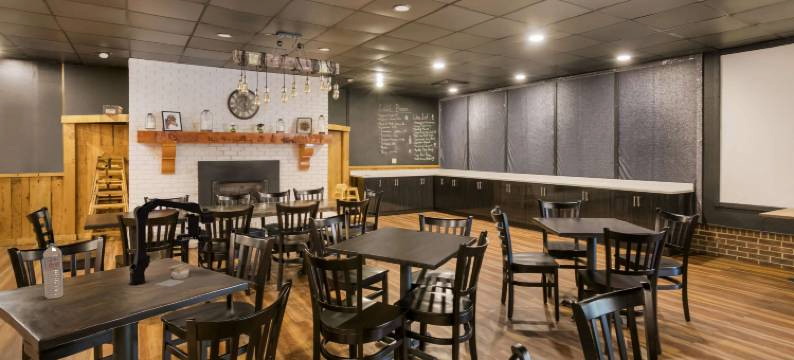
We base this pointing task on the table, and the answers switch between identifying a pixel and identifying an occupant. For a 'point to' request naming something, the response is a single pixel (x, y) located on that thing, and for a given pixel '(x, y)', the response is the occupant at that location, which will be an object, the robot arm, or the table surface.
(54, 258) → the water bottle
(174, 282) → the mat
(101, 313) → the table surface
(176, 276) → the bowl
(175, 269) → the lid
